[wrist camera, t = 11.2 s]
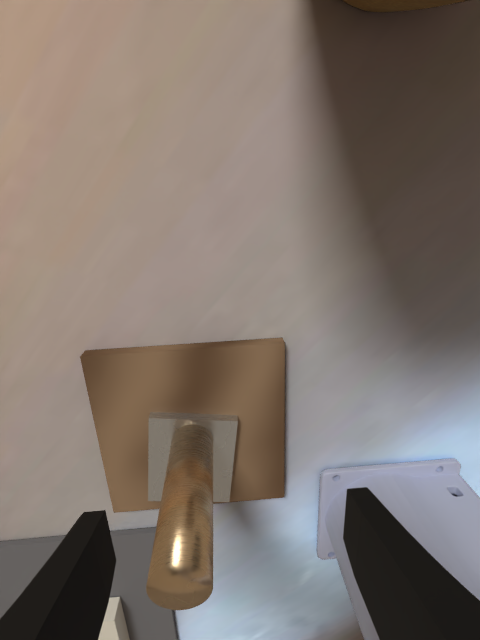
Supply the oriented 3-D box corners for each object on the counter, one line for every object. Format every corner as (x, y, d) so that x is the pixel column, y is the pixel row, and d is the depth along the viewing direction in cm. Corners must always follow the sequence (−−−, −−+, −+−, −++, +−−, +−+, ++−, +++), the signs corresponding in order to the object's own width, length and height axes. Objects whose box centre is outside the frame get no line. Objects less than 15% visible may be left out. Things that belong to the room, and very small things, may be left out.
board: (282, 337, 20) (284, 343, 19) (282, 487, 24) (284, 497, 23) (85, 350, 19) (80, 356, 19) (117, 502, 23) (113, 512, 22)
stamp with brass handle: (150, 411, 20) (107, 558, 12) (237, 415, 20) (252, 558, 12) (149, 493, 22) (112, 666, 14) (228, 494, 22) (237, 662, 14)
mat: (159, 526, 24) (158, 532, 24) (184, 681, 30) (184, 687, 30) (-52, 546, 23) (-57, 551, 23) (17, 700, 29) (14, 706, 29)
